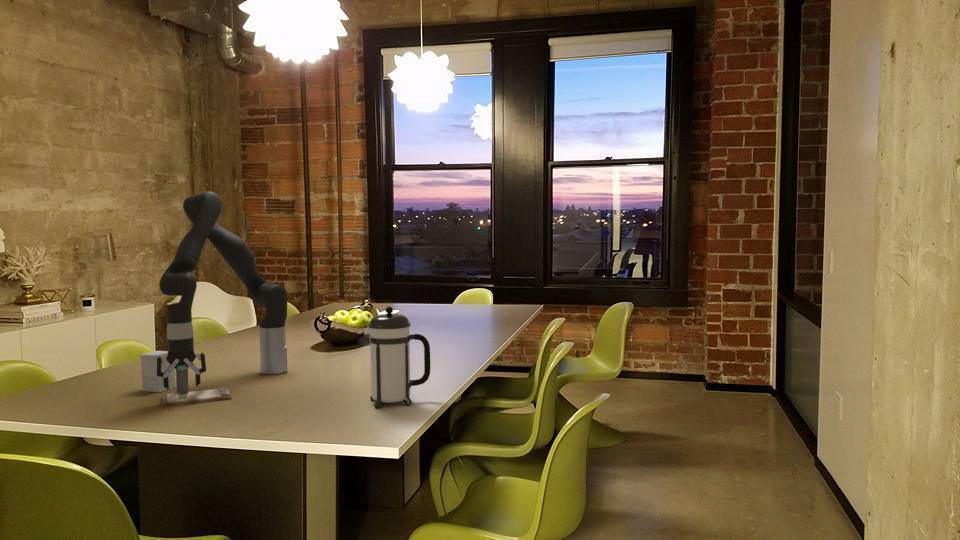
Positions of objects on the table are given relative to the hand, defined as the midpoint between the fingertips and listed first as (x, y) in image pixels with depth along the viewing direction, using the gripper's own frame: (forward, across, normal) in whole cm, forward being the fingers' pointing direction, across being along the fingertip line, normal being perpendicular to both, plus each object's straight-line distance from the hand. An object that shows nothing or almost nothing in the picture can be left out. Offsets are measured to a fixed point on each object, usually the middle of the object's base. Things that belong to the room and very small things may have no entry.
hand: (182, 387), depth 214 cm
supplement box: (+4, +7, -20) cm, 22 cm away
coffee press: (+4, -60, +32) cm, 68 cm away
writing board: (+4, -4, -2) cm, 6 cm away
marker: (+3, 0, 0) cm, 3 cm away
